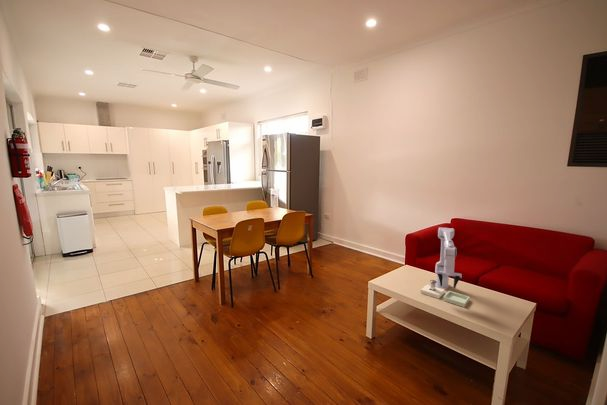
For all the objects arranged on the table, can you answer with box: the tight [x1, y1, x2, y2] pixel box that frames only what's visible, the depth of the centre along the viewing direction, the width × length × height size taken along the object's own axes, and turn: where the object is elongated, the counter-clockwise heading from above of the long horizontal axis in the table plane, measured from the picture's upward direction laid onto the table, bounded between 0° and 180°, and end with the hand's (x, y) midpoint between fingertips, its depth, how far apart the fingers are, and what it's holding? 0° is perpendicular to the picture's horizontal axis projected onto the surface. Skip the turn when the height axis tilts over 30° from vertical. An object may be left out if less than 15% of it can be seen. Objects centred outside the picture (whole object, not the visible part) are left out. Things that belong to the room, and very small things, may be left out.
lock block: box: [420, 284, 446, 300], centre depth 191 cm, size 12×12×2 cm
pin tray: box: [442, 290, 471, 308], centre depth 181 cm, size 13×13×2 cm
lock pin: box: [429, 279, 437, 291], centre depth 191 cm, size 4×4×9 cm
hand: (447, 286), depth 177 cm, fingers open, 7 cm apart
